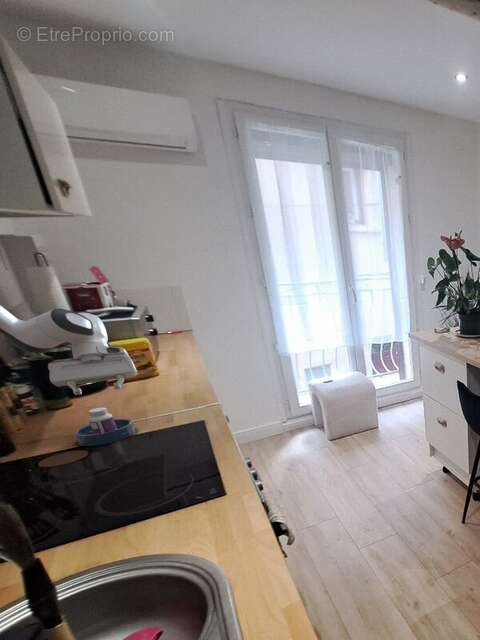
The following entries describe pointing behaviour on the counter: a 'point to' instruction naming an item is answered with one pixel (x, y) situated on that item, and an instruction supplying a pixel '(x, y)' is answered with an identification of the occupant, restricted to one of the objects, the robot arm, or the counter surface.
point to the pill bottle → (101, 421)
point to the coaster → (63, 458)
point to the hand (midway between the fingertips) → (98, 391)
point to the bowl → (90, 439)
